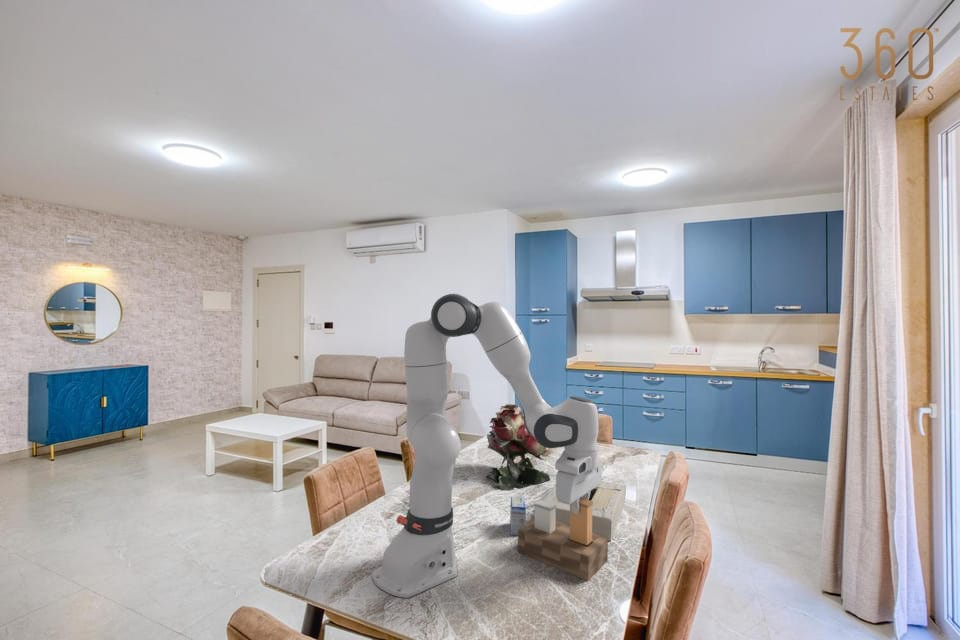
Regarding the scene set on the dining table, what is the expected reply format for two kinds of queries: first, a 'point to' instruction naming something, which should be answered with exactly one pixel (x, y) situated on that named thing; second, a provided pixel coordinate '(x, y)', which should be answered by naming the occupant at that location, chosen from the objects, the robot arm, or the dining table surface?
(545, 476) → the rose bouquet
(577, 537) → the orange plug
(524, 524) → the medicine box
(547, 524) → the cream plug
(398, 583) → the robot arm
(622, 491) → the pale hollow square block
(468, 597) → the dining table surface
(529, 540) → the block
